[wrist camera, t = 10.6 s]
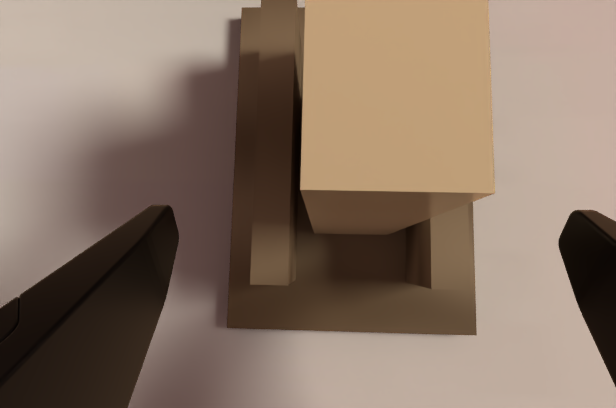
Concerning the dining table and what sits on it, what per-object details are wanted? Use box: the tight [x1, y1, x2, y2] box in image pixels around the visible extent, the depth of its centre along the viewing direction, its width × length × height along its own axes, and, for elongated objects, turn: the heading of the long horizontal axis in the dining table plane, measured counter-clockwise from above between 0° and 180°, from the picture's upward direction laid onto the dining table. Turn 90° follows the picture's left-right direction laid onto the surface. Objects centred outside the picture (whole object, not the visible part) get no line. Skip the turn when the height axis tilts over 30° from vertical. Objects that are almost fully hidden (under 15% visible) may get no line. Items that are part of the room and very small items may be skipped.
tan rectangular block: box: [300, 0, 495, 235], centre depth 12 cm, size 6×3×11 cm, turn 179°
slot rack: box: [227, 0, 476, 335], centre depth 16 cm, size 14×10×5 cm
